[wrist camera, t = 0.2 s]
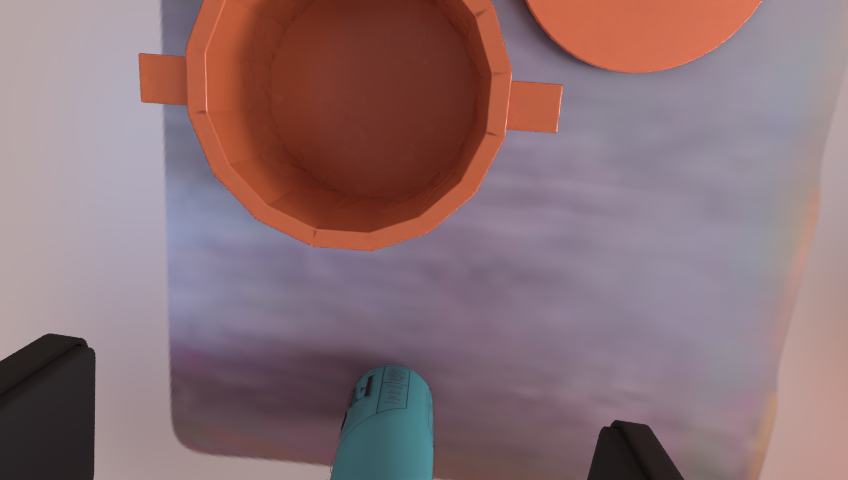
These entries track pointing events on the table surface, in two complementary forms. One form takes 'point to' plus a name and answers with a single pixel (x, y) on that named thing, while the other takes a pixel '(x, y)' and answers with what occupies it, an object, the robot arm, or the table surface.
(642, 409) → the table surface
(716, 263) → the table surface
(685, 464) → the table surface
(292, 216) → the dutch oven
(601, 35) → the lid
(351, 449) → the beverage bottle
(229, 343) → the table surface
